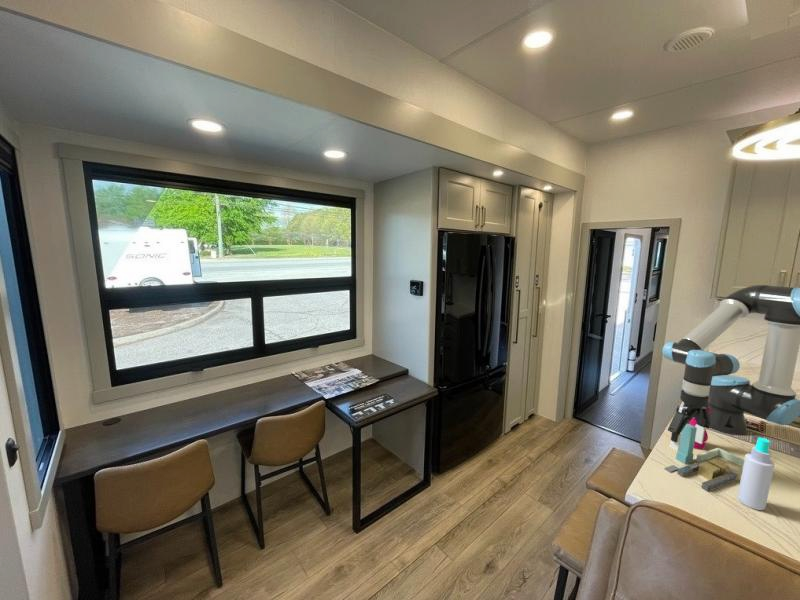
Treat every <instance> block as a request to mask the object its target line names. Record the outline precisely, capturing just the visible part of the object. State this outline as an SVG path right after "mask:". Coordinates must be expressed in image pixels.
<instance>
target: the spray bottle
mask: <svg viewBox="0 0 800 600" xmlns="http://www.w3.org/2000/svg"><path fill="white" fill-rule="evenodd" d="M770 443H771V441H770V440H769V439H767V438H764V437H757V440H756V445H755V446H753V447H752V448H751V451H750V453H746V454H744V455H745V457H744V459H743V460H744V466H743V467H742V471H741V477H740V482H739V486H738V492H737V499H738V501H739V502H740V503H741V504H743V505H744V506H746V507H747V508H750V509H753V510H757V511H763V510H765V509H766V507H767V503H768V497H769V494H770V493H769V492H770V488H771V483H772V479H773V474H774V469H775V463H774V461H772V460H771V457H772V452H771V451H769V449H770Z"/></svg>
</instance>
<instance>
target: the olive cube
mask: <svg viewBox="0 0 800 600" xmlns="http://www.w3.org/2000/svg"><path fill="white" fill-rule="evenodd" d="M708 463H710V464H712V465H714V466H716V467H718V468H720V474H719V476H721V475H724V474H727V473H729V468H730V465H729V464H727V463H725V462H724V461H720V460H719V459H717V458H714V459H710V460H709V461H708Z"/></svg>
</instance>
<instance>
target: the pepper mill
mask: <svg viewBox="0 0 800 600" xmlns="http://www.w3.org/2000/svg"><path fill="white" fill-rule="evenodd" d="M708 413H710V408H709V406H708ZM704 420H705V419H704ZM688 424H690V425H692V426H694V427H695V425H696V424H697V422H696V420H695V418H694V417H693V418H692V419H691V420H689V422H688ZM697 425H699V424H697ZM706 429H707V428H705V432H704V438H703V444H700V443H698V442H696V441H695V442H694V448H693V449H697V450H703V449H705V447H706V442H707V441H708V439H709V437H708V432H707V430H706Z"/></svg>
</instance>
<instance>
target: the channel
mask: <svg viewBox="0 0 800 600" xmlns="http://www.w3.org/2000/svg"><path fill="white" fill-rule="evenodd" d="M708 461H710V460H709V459H705V460H702V461H700V462H698V461H696V462H694V463H691V464H689V465H685V466H683V467H678V468H679V469H678V470H677V472H676V473H677V475H678V476H679V477H682V478H683V477H685V476H689V475H692V474H694V473H696V472H697V473H698V469H699V464H701V463H704V462H708ZM737 476H738V474H736V473H734V472H732V471H728V473H727V474H724V475H721V476H719V477H716V478H713V479H711V480H708V479H707V480H706V481H704V482H701V487H700V489H702V490H703V491H705V492H709V491H712V490H715V489H716V488H719V487H721V486H725V485H727V484H729V483H731V482H734V481H736V480H737Z"/></svg>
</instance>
